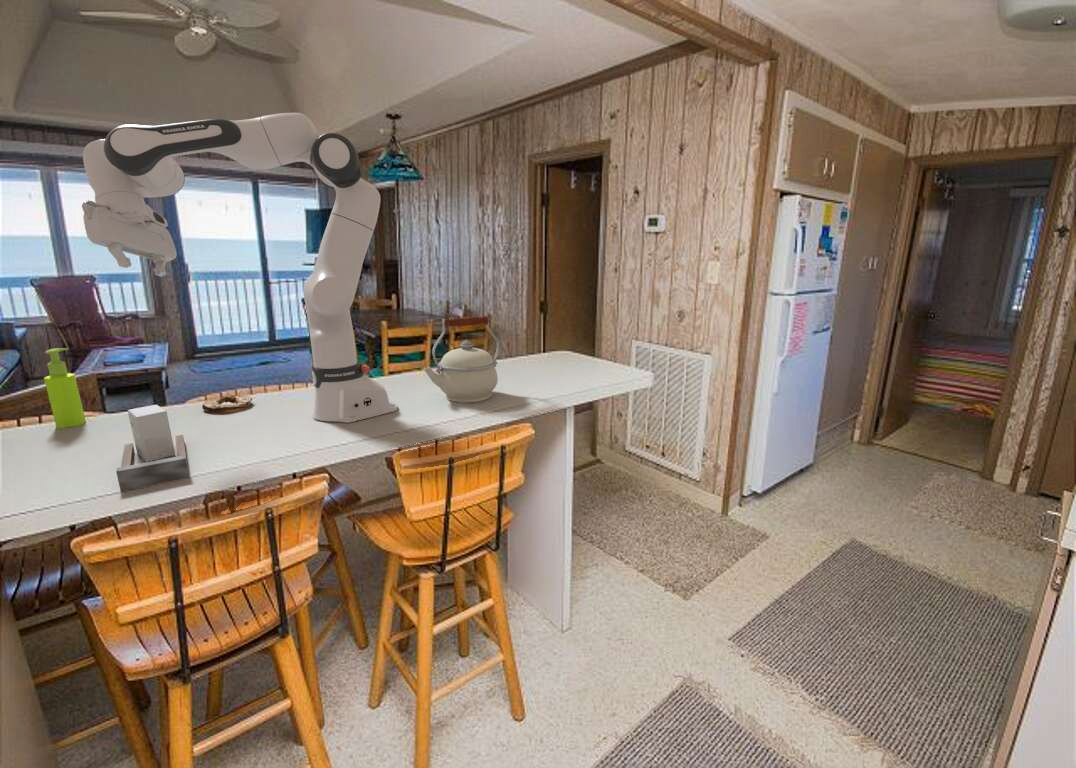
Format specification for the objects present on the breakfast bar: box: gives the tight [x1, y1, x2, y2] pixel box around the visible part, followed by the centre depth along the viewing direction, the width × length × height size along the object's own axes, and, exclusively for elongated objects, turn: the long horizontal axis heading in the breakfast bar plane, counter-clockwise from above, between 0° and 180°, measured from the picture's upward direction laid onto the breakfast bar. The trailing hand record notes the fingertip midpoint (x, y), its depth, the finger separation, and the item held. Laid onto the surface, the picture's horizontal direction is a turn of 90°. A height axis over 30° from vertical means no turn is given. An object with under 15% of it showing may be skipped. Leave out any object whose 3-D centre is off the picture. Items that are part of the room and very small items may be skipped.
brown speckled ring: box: [201, 394, 253, 416], centre depth 150 cm, size 15×15×4 cm
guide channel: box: [115, 434, 190, 492], centre depth 111 cm, size 11×23×4 cm, turn 35°
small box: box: [127, 404, 176, 463], centre depth 115 cm, size 8×6×10 cm
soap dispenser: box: [43, 347, 87, 429], centre depth 133 cm, size 6×7×20 cm
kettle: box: [422, 315, 500, 404], centre depth 157 cm, size 25×18×25 cm
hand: (144, 271), depth 116 cm, fingers open, 8 cm apart
